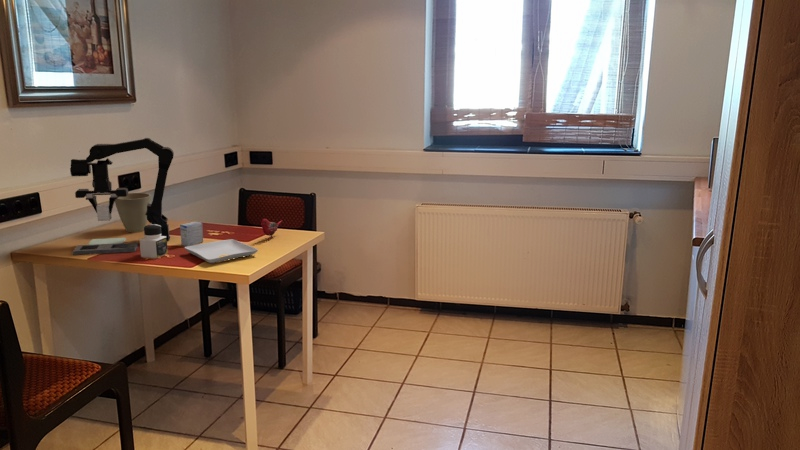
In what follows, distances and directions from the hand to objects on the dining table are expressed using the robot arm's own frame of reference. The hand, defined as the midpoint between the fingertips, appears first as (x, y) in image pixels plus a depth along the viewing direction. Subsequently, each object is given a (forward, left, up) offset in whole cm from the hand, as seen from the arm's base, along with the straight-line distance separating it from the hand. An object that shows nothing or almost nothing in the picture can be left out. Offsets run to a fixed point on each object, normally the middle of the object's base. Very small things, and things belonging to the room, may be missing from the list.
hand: (104, 213), depth 241 cm
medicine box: (-34, +8, -13) cm, 37 cm away
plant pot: (-8, -20, -13) cm, 25 cm away
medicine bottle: (-21, +23, -13) cm, 33 cm away
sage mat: (0, 0, -12) cm, 13 cm away
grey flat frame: (-2, +12, -12) cm, 17 cm away
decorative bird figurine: (-67, +5, -13) cm, 68 cm away
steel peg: (0, 0, -2) cm, 3 cm away
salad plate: (-46, +28, -13) cm, 55 cm away
